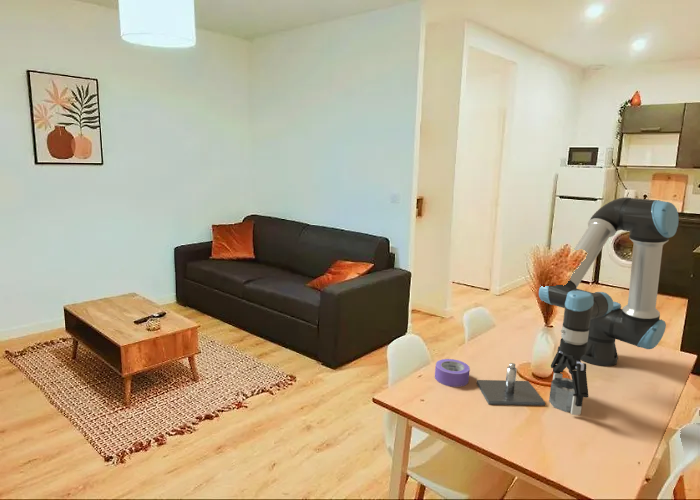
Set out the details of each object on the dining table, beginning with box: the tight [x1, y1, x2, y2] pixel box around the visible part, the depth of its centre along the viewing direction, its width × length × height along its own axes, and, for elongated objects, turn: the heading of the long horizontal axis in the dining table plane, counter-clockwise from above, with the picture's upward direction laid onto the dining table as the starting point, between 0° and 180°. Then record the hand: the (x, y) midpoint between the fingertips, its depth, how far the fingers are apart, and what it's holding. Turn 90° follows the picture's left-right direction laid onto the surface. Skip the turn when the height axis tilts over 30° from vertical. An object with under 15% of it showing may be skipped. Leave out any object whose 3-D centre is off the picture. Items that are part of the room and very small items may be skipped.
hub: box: [548, 377, 575, 413], centre depth 150 cm, size 9×9×7 cm
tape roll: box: [434, 358, 471, 388], centre depth 165 cm, size 12×12×5 cm
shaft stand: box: [476, 362, 546, 407], centre depth 155 cm, size 18×14×11 cm
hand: (565, 402), depth 151 cm, fingers open, 13 cm apart
